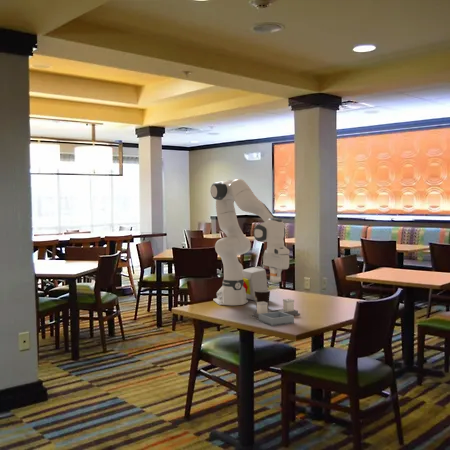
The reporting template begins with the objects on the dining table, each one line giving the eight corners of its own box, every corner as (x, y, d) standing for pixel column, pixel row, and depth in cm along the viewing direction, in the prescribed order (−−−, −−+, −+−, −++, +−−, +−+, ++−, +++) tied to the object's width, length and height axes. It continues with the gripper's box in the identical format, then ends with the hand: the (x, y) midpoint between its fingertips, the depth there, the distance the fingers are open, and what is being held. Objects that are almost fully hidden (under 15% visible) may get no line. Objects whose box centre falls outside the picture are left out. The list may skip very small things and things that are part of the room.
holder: (250, 316, 274) (250, 312, 273) (291, 312, 285) (291, 307, 285) (258, 319, 266) (258, 315, 266) (300, 314, 277) (300, 310, 277)
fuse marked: (269, 280, 276) (269, 267, 275) (276, 280, 277) (276, 266, 277) (274, 281, 272) (274, 268, 271) (281, 281, 274) (281, 267, 273)
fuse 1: (256, 315, 273) (256, 302, 273) (263, 314, 275) (263, 301, 274) (260, 317, 269) (260, 303, 269) (267, 316, 271) (267, 302, 271)
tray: (258, 320, 265) (258, 313, 264) (280, 318, 270) (280, 311, 270) (271, 326, 253) (271, 318, 253) (294, 323, 259) (294, 316, 259)
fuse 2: (282, 312, 280) (282, 299, 280) (289, 311, 282) (289, 298, 282) (287, 314, 276) (287, 300, 276) (294, 313, 278) (294, 299, 278)
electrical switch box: (236, 301, 326) (232, 269, 324) (257, 296, 332) (253, 265, 330) (247, 305, 313) (243, 272, 310) (269, 300, 319) (265, 267, 317)
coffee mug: (269, 310, 289) (269, 292, 288) (253, 310, 290) (253, 291, 290) (271, 306, 300) (271, 288, 300) (256, 306, 302) (256, 288, 301)
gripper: (260, 248, 282) (260, 273, 282) (280, 251, 263) (280, 279, 264) (270, 247, 284) (270, 273, 285) (291, 250, 266) (291, 278, 267)
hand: (275, 276), depth 274 cm, fingers closed on fuse marked, 4 cm apart
